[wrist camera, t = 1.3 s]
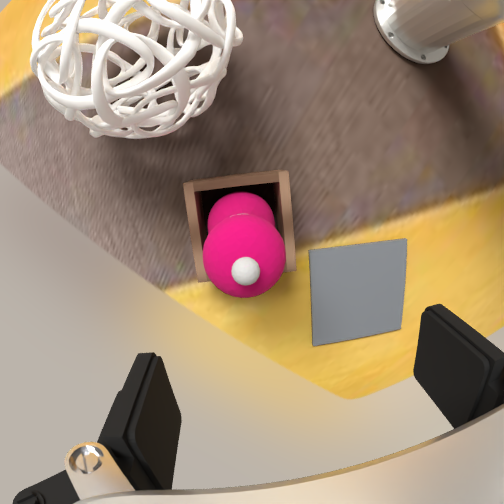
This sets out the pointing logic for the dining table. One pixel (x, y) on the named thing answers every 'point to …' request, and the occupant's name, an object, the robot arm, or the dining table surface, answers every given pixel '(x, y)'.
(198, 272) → the holder
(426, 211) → the dining table surface
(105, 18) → the decorative ball
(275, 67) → the dining table surface
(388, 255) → the mat
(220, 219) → the pink bowling pin
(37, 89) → the dining table surface
